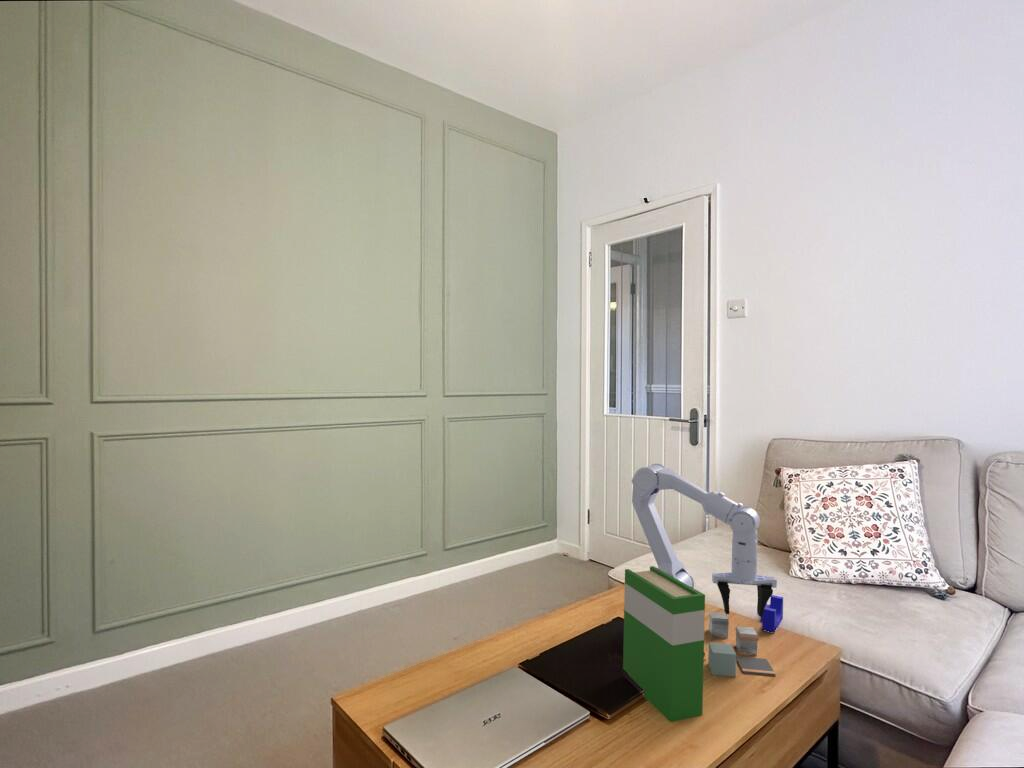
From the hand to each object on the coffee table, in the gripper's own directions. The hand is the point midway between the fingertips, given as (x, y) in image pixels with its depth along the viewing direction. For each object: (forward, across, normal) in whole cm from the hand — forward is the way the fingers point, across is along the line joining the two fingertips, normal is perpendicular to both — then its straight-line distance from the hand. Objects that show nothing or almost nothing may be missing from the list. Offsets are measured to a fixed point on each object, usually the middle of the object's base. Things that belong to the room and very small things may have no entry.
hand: (743, 613), depth 139 cm
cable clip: (+10, +11, +19) cm, 24 cm away
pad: (+9, +1, -7) cm, 12 cm away
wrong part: (+10, -4, +9) cm, 14 cm away
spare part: (+10, +1, +1) cm, 10 cm away
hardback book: (+10, -22, -23) cm, 33 cm away
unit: (+9, -7, -10) cm, 15 cm away
